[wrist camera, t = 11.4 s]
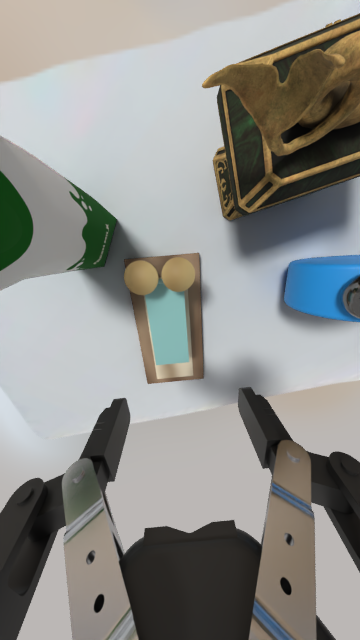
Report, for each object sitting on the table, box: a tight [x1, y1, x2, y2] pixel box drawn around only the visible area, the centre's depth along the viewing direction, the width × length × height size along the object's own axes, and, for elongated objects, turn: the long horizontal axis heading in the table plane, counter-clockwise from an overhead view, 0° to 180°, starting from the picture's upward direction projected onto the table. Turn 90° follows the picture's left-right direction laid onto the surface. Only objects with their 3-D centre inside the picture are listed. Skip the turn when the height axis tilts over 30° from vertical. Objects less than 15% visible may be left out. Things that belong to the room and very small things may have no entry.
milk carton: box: [0, 136, 117, 290], centre depth 15 cm, size 9×9×20 cm
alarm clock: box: [284, 255, 360, 322], centre depth 21 cm, size 13×6×15 cm, turn 95°
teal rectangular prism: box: [145, 279, 189, 365], centre depth 25 cm, size 5×12×5 cm, turn 5°
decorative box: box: [202, 13, 360, 220], centre depth 13 cm, size 20×10×20 cm, turn 107°
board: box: [124, 253, 204, 384], centre depth 26 cm, size 11×23×9 cm, turn 5°
